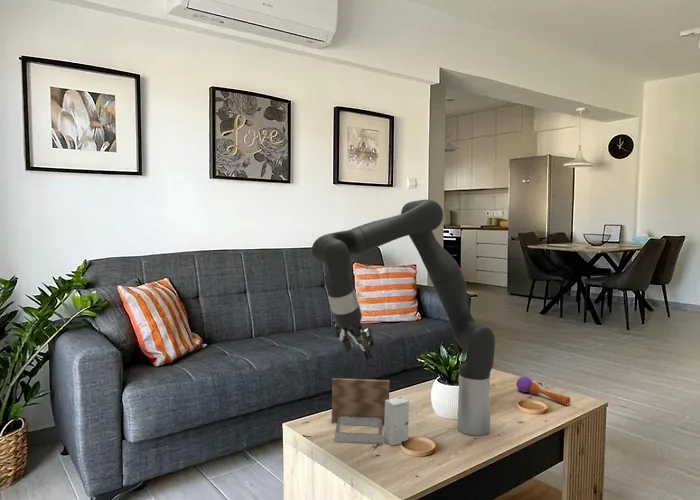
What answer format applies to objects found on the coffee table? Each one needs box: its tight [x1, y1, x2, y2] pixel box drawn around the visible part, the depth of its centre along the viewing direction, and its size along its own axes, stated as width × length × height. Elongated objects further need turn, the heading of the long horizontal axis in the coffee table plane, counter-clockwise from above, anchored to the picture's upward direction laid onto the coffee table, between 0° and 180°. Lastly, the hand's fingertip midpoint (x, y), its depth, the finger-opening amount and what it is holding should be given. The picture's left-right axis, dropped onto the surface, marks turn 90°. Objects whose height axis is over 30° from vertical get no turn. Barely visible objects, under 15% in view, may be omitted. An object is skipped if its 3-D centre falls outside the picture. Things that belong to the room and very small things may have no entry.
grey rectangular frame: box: [334, 416, 383, 444], centre depth 151 cm, size 14×13×2 cm
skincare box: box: [383, 396, 410, 446], centre depth 146 cm, size 6×4×12 cm
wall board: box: [331, 377, 390, 426], centre depth 160 cm, size 18×4×14 cm, turn 87°
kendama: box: [516, 376, 571, 406], centre depth 184 cm, size 6×6×20 cm
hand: (358, 355), depth 141 cm, fingers open, 8 cm apart
